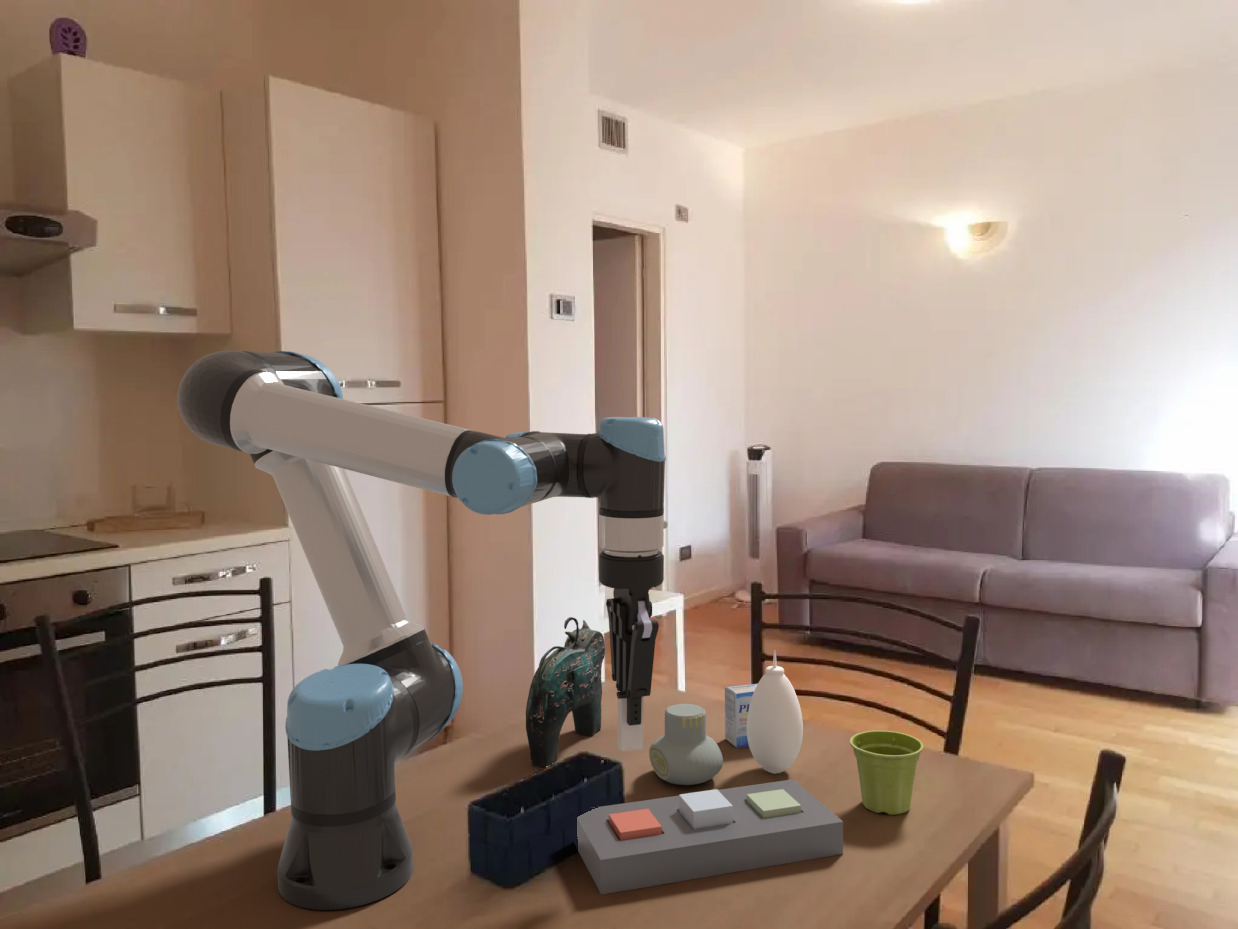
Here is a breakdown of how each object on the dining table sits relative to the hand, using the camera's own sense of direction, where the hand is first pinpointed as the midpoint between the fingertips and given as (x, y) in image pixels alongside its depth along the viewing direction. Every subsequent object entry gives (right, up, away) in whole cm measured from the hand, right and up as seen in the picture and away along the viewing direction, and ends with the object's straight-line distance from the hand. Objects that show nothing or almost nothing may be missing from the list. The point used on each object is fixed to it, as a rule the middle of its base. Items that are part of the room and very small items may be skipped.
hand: (630, 747), depth 115 cm
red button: (+1, -12, +1) cm, 12 cm away
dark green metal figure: (-9, -11, +37) cm, 40 cm away
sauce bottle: (+21, -11, +26) cm, 36 cm away
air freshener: (+8, -12, +25) cm, 28 cm away
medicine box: (+20, -10, +38) cm, 44 cm away
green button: (+18, -11, +6) cm, 22 cm away
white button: (+9, -10, +3) cm, 14 cm away
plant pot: (+34, -12, +14) cm, 39 cm away
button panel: (+9, -13, +4) cm, 16 cm away
